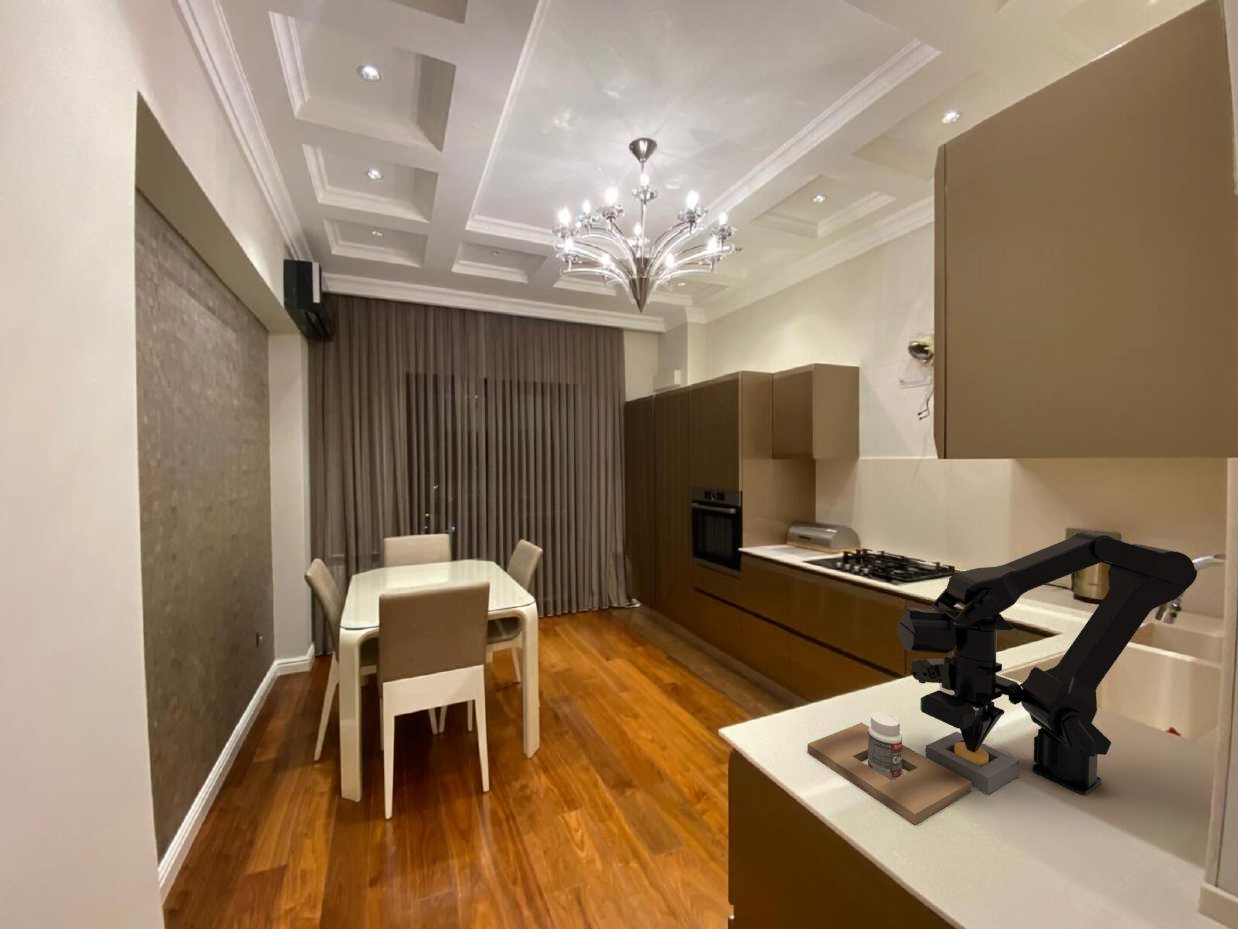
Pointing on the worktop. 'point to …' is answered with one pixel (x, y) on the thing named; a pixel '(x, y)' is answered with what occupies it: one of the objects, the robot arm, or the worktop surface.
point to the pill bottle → (885, 745)
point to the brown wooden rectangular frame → (905, 795)
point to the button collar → (981, 778)
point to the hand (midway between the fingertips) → (971, 750)
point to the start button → (972, 754)
